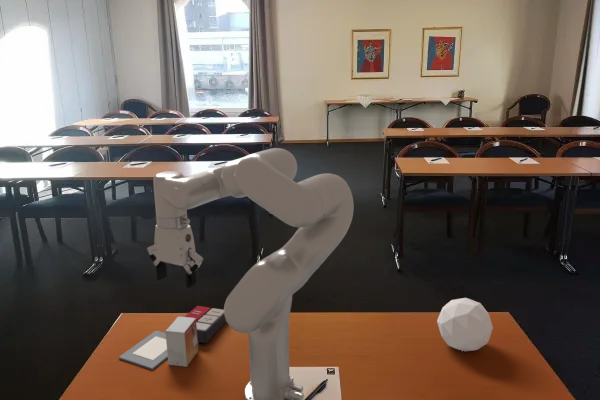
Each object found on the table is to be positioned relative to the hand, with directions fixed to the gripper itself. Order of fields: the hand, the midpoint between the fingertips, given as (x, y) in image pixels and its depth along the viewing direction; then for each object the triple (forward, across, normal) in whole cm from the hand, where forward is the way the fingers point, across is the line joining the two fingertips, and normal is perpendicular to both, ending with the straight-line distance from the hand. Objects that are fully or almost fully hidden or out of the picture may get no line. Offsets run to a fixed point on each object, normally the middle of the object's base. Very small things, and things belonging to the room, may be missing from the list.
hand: (176, 281), depth 126 cm
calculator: (+23, +4, -14) cm, 27 cm away
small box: (+23, -1, 0) cm, 23 cm away
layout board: (+23, +9, 0) cm, 25 cm away
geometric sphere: (+22, -70, -38) cm, 82 cm away
